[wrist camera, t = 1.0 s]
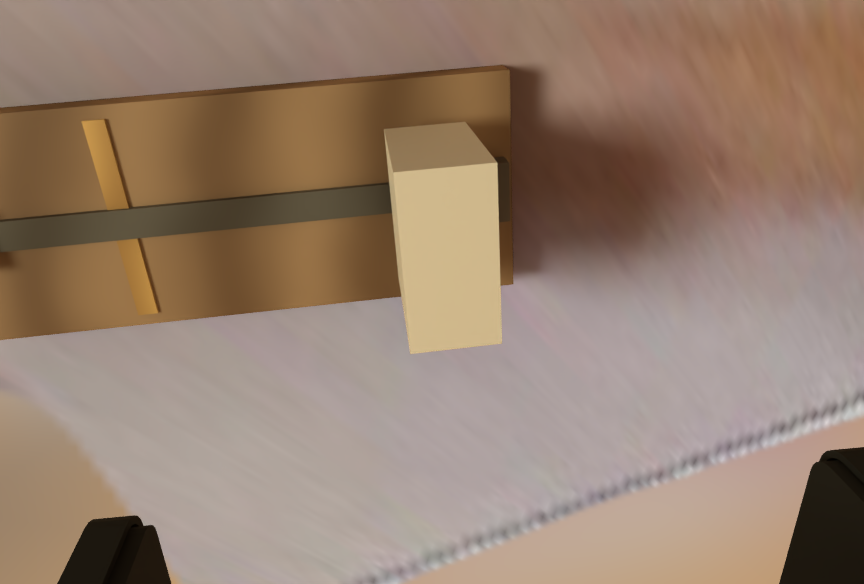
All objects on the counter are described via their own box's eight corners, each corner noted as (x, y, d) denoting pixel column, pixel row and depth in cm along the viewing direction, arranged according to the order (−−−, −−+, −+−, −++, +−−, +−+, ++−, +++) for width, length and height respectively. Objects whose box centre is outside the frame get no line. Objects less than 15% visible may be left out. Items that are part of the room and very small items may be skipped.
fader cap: (461, 117, 25) (497, 162, 19) (468, 263, 28) (501, 343, 22) (383, 124, 25) (393, 172, 19) (397, 270, 28) (410, 353, 21)
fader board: (501, 64, 27) (515, 73, 24) (506, 270, 30) (518, 293, 28) (-74, 114, 25) (-116, 127, 23) (9, 323, 29) (-20, 353, 27)
